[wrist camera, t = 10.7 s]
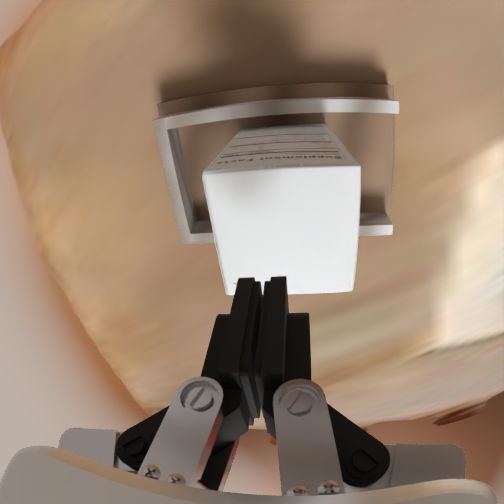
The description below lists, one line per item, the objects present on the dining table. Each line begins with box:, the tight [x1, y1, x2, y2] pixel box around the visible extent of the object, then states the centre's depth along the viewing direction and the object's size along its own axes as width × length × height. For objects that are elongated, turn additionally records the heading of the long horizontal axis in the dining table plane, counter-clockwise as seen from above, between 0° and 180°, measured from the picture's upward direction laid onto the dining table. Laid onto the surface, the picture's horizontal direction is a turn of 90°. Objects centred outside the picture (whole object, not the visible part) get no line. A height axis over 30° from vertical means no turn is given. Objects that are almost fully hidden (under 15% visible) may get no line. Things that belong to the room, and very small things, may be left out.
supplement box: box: [202, 124, 361, 295], centre depth 20 cm, size 7×7×13 cm
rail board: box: [153, 83, 399, 244], centre depth 25 cm, size 20×14×4 cm
